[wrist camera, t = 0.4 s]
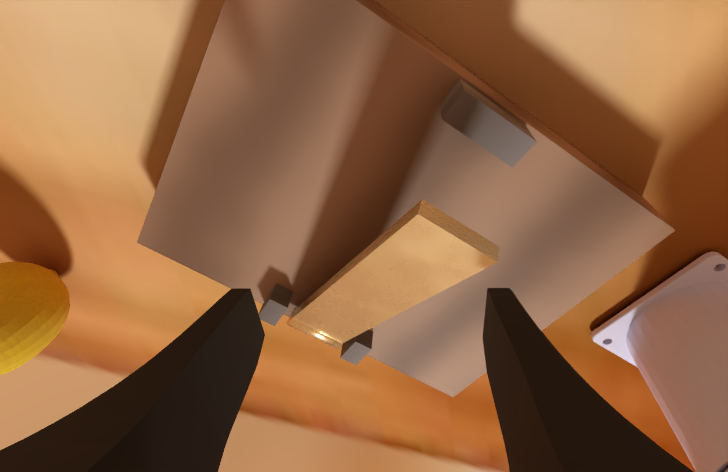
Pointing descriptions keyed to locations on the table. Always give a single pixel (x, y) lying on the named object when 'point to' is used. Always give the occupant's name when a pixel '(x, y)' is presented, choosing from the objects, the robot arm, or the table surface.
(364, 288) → the latch bar
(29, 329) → the lemon
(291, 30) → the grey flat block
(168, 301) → the table surface
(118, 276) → the table surface
